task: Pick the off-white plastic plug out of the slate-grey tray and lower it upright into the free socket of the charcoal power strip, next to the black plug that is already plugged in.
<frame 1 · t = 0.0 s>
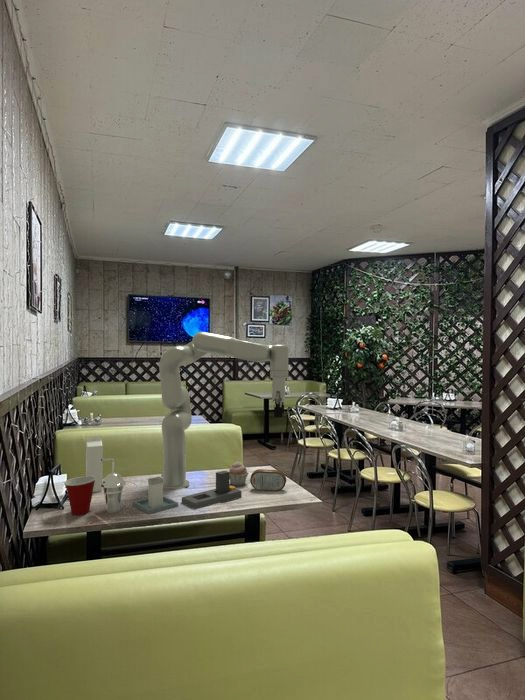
hand: (279, 415, 187), 31 cm above the table, tool pointing down, fingers open, 9 cm apart
brown oval speaker: (268, 490, 188), on the table
power strip: (212, 500, 175), on the table
milk: (94, 490, 187), on the table
cupcake: (237, 484, 196), on the table
cup with straw: (112, 512, 162), on the table
black plug: (222, 497, 178), resting in power strip
tray: (155, 506, 167), on the table
plastic cup: (79, 513, 161), on the table
plug: (155, 505, 167), resting on tray
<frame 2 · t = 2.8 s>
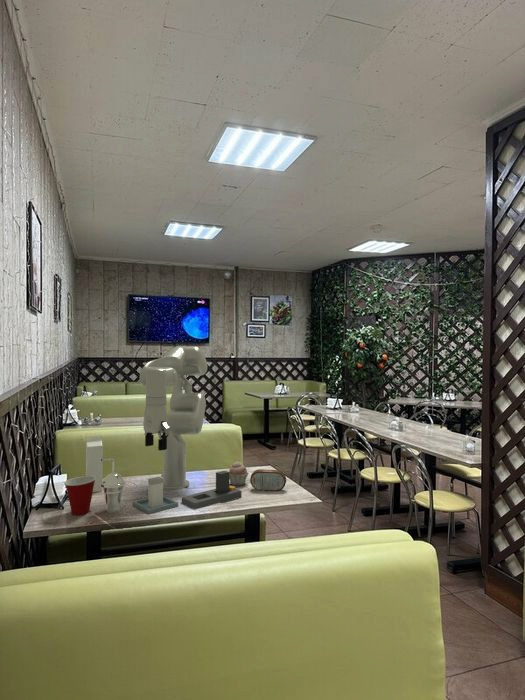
hand: (155, 447, 167), 22 cm above the table, tool pointing down, fingers open, 9 cm apart
nothing on the table moved.
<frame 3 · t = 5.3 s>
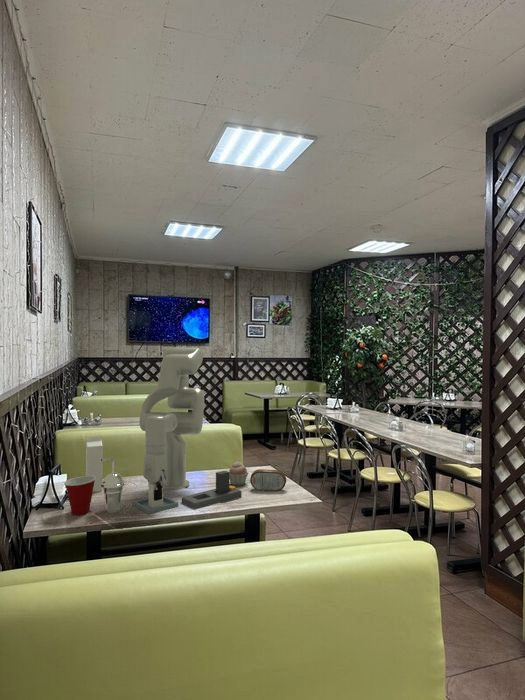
hand: (155, 498, 167), 3 cm above the table, tool pointing down, fingers closed on plug, 2 cm apart
plug: (155, 505, 167), point 1 cm above the table, touching gripper
everything else where it was.
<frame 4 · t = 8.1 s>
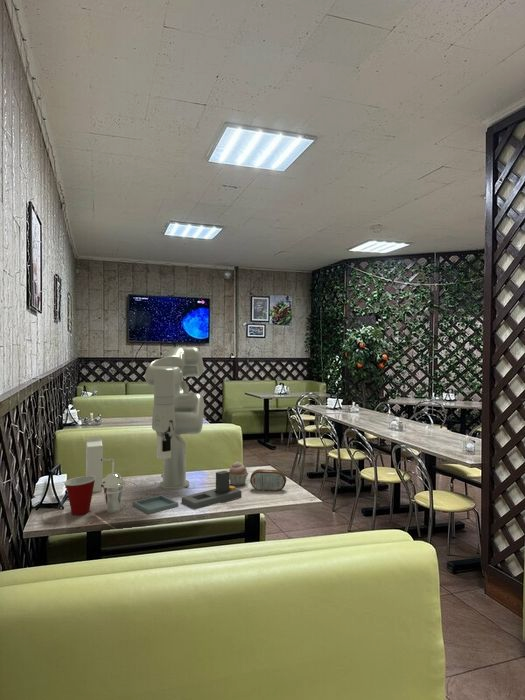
hand: (164, 449, 168), 21 cm above the table, tool pointing down, fingers closed on plug, 3 cm apart
plug: (163, 457, 168), point 18 cm above the table, touching gripper
everything else where it was.
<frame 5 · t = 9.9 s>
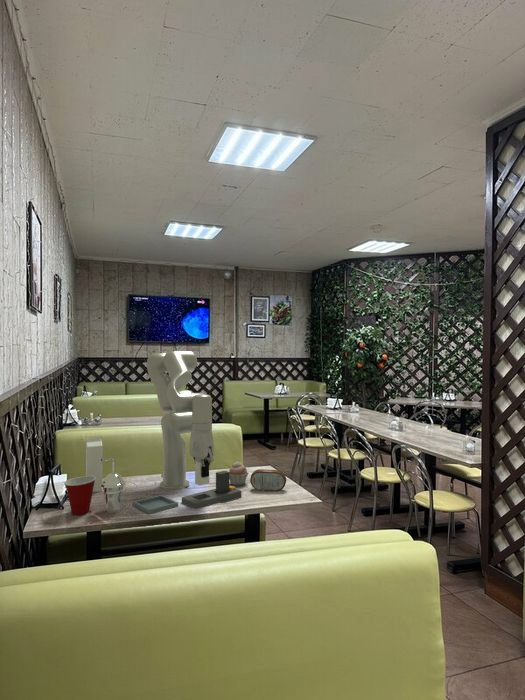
hand: (202, 475, 171), 11 cm above the table, tool pointing down, fingers closed on plug, 3 cm apart
plug: (202, 483, 171), point 8 cm above the table, touching gripper
everything else where it was.
when the fingers open (4 cm above the table, at t = 11.3 s): plug stays where it is, resting in power strip.
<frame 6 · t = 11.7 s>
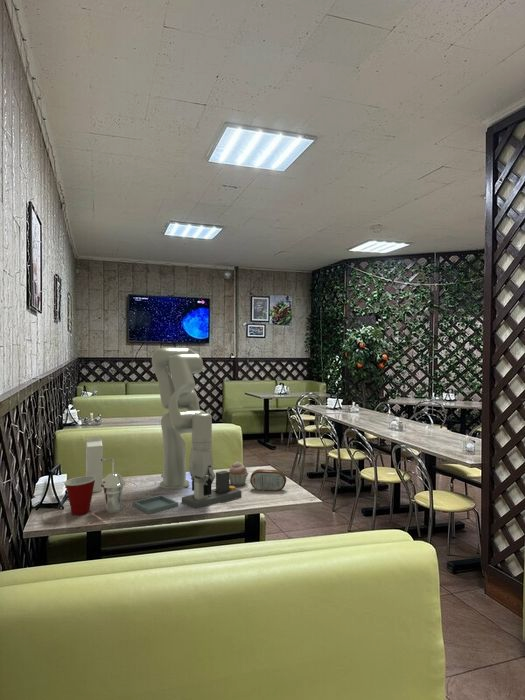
hand: (201, 492, 171), 4 cm above the table, tool pointing down, fingers open, 7 cm apart
plug: (201, 503, 171), resting in power strip
everything else where it was.
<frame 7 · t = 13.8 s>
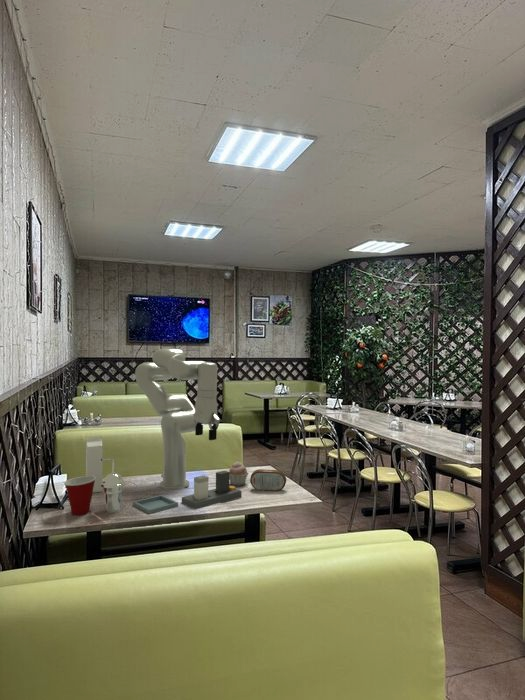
hand: (205, 437, 177), 24 cm above the table, tool pointing down, fingers open, 9 cm apart
nothing on the table moved.
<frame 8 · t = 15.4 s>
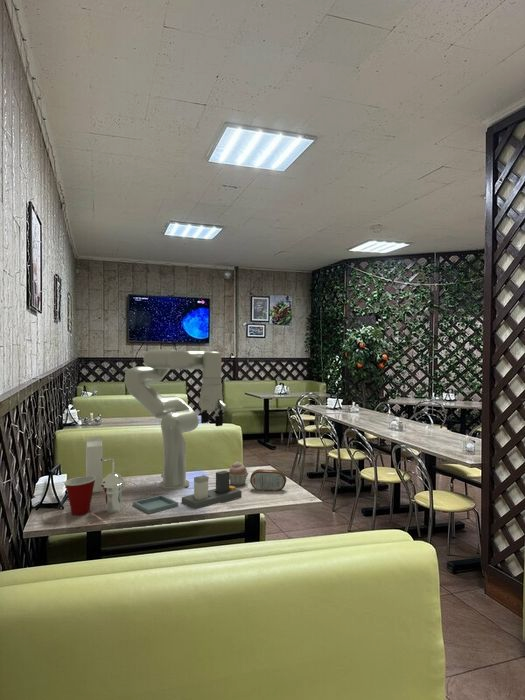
hand: (211, 424, 182), 28 cm above the table, tool pointing down, fingers open, 9 cm apart
nothing on the table moved.
at the end: plug 0.2 cm from the target spot on the power strip, point 0.0 cm above the power strip's base; plug tilted 0°; the gripper is holding nothing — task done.
